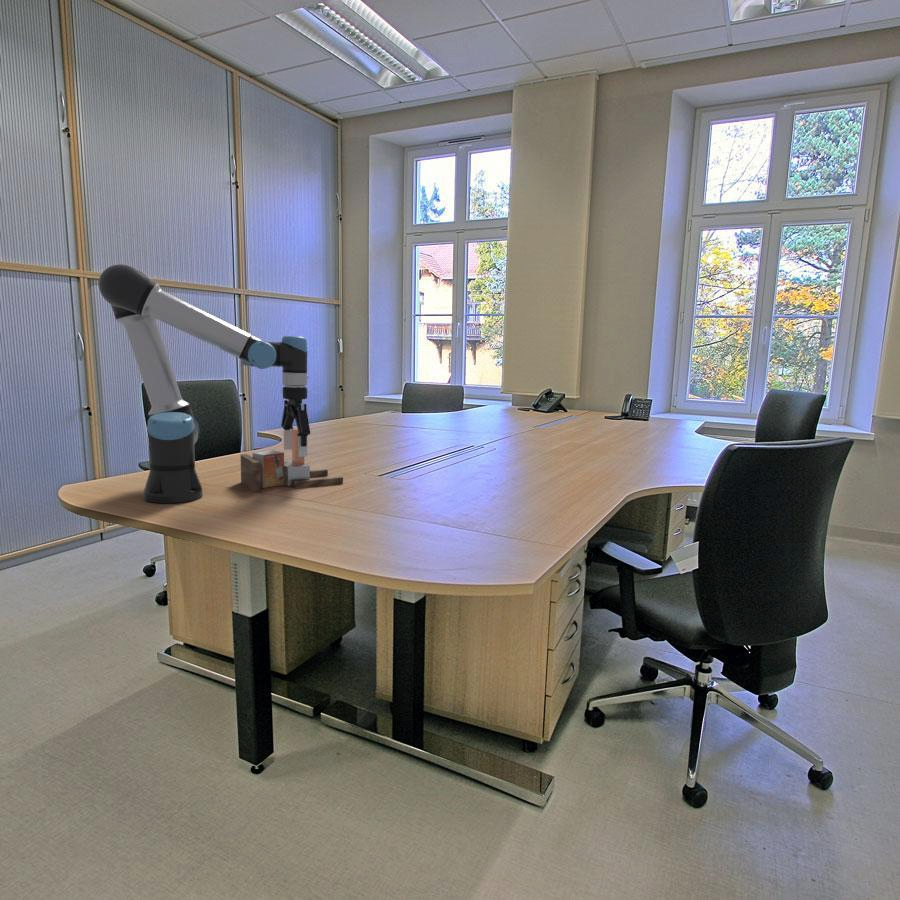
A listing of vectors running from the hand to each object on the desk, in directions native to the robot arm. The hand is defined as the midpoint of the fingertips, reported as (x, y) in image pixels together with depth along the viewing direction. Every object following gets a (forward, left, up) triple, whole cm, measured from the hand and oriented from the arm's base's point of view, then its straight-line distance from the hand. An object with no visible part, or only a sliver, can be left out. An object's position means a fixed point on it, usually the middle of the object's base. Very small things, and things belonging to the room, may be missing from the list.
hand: (295, 453), depth 192 cm
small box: (-9, 0, -10) cm, 13 cm away
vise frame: (-1, 0, -10) cm, 10 cm away
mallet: (-1, 0, -10) cm, 10 cm away
